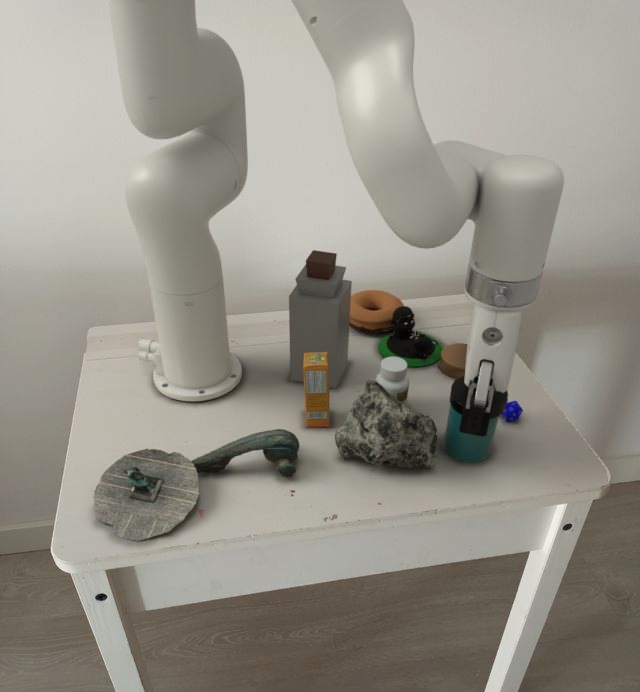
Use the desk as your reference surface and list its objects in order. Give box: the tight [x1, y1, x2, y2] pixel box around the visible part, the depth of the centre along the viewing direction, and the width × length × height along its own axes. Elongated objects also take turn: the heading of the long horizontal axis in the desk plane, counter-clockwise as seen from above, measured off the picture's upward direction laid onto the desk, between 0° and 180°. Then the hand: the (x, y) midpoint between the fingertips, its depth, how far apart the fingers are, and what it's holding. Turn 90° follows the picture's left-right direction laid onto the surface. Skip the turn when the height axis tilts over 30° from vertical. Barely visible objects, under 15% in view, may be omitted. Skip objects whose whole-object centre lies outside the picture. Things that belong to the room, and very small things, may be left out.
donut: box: [349, 289, 405, 334], centre depth 106 cm, size 10×10×4 cm
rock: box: [334, 379, 439, 469], centre depth 80 cm, size 12×8×10 cm
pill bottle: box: [375, 357, 410, 405], centre depth 87 cm, size 4×4×8 cm
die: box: [500, 400, 524, 423], centre depth 88 cm, size 3×3×3 cm
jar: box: [442, 403, 500, 463], centre depth 81 cm, size 6×6×9 cm
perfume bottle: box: [288, 249, 353, 389], centre depth 91 cm, size 7×7×18 cm
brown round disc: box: [438, 342, 468, 380], centre depth 97 cm, size 7×7×2 cm
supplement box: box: [303, 352, 331, 428], centre depth 85 cm, size 3×4×10 cm
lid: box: [449, 376, 509, 419], centre depth 79 cm, size 7×7×2 cm
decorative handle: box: [190, 428, 300, 479], centre depth 79 cm, size 15×7×5 cm, turn 105°
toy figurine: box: [377, 305, 444, 367], centre depth 100 cm, size 10×10×6 cm
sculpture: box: [93, 448, 200, 542], centre depth 75 cm, size 12×9×8 cm
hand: (475, 413), depth 81 cm, fingers closed on lid, 6 cm apart
